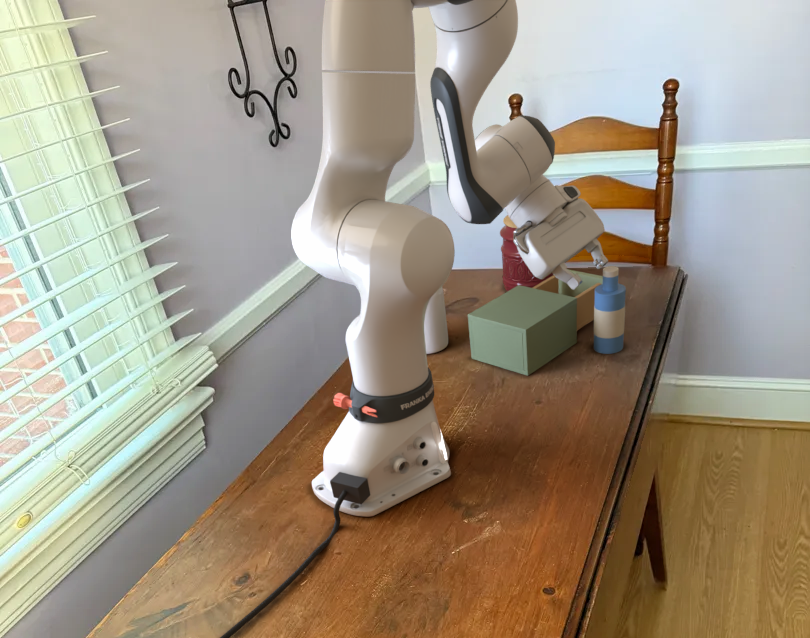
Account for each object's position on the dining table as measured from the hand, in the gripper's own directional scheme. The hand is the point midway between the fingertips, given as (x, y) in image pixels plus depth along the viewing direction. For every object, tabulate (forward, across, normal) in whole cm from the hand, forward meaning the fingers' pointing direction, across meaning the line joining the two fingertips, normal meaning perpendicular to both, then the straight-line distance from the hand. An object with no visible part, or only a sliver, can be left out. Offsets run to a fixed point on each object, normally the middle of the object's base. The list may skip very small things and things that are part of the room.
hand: (591, 275), depth 136 cm
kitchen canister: (-8, +21, +26) cm, 34 cm away
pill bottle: (-11, -12, +29) cm, 33 cm away
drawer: (+3, +8, +14) cm, 16 cm away
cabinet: (+2, -7, +16) cm, 18 cm away
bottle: (+12, 0, +7) cm, 13 cm away
